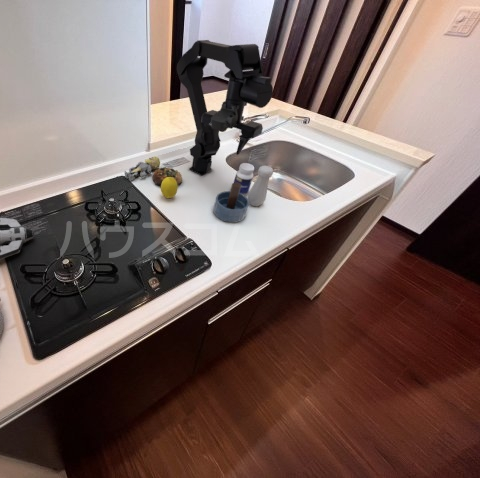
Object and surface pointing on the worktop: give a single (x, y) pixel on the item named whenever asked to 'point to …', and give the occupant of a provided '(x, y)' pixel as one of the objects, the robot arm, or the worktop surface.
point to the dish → (1, 321)
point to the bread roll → (166, 175)
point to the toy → (143, 168)
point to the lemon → (169, 187)
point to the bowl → (227, 213)
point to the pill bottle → (244, 177)
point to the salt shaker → (260, 186)
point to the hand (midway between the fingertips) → (225, 150)
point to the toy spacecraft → (12, 237)
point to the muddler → (233, 195)
